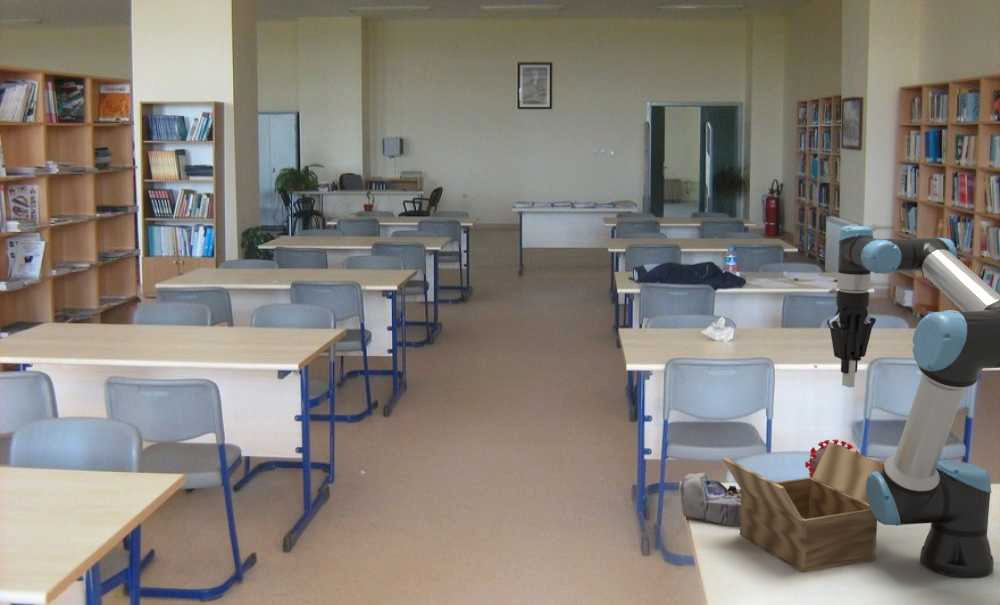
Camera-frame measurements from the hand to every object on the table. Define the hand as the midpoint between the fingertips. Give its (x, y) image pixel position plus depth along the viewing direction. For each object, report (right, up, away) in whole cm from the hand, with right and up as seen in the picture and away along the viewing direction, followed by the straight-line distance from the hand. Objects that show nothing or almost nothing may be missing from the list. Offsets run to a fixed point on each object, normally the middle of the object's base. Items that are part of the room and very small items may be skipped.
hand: (848, 385), depth 267 cm
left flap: (-25, -22, -19) cm, 38 cm away
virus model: (+4, -31, +25) cm, 40 cm away
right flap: (-2, -20, -10) cm, 22 cm away
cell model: (-30, -34, +8) cm, 46 cm away
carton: (-14, -37, -11) cm, 41 cm away
